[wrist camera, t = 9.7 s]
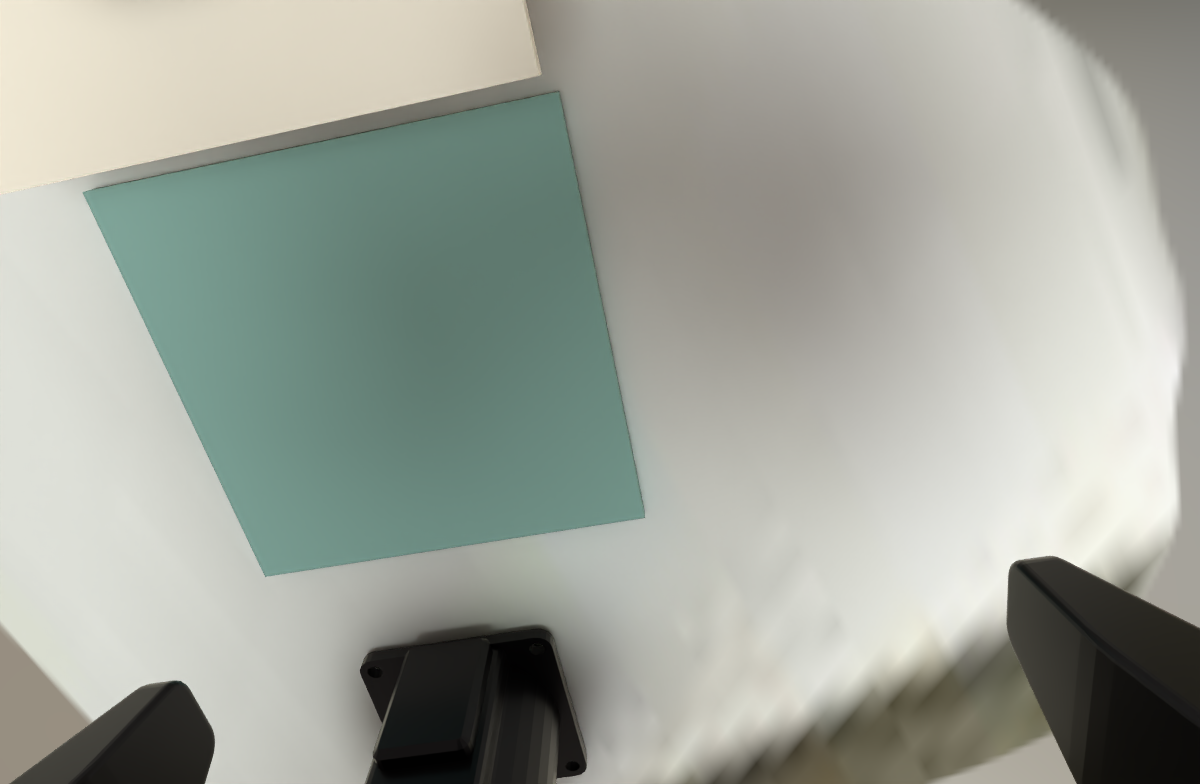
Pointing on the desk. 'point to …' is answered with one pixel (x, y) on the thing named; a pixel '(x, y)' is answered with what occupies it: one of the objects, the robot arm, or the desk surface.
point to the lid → (228, 72)
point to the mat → (387, 335)
